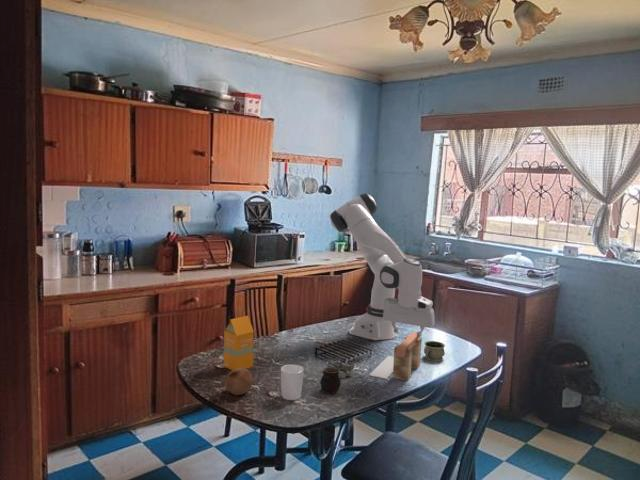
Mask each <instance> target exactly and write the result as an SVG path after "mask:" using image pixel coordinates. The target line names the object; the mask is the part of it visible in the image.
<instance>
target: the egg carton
mask: <svg viewBox="0 0 640 480" xmlns="http://www.w3.org/2000/svg"><path fill="white" fill-rule="evenodd" d="M326 364H327V367H333V368H338V367H339V366H340V365H341V364H342V366H341V367H340V368H339V369H338V370H339V374H338V376H339V379H340V378H341V379H346V377H352V376H353V371H354V370H353V369H355V367H356V366H354V365H352V364H347V363H344V362H341V361H340V360H338V361H336V360H332V361H326Z"/></svg>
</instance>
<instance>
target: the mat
mask: <svg viewBox="0 0 640 480" xmlns="http://www.w3.org/2000/svg"><path fill="white" fill-rule="evenodd" d="M393 364H394V356H392V355H391V356H390V355H388V356H387V357H386V358H385V359H384V360H383V361H381V363H379V364H378V366H377V367H376V368H375V369H374V370H372V371H371V372H370V374H369V377H373V378H377V379H382V380H386V381H387V380H388V379H389V377H391V376H392V375H393Z"/></svg>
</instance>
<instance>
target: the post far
mask: <svg viewBox="0 0 640 480" xmlns="http://www.w3.org/2000/svg"><path fill="white" fill-rule="evenodd" d="M409 335H410V334H409ZM409 335H408V334H407V335H406V336H405V337H404V340H405V339H406V338H407V337H408V336H409ZM422 339H423V337H422V336H421V337H419V338H418V340H417V343H416V344H415V345H414V346H413V349H412V364H411V369H416V370H417V369H419V367H421V355H422V352H421V351H422Z"/></svg>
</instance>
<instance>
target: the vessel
mask: <svg viewBox="0 0 640 480" xmlns="http://www.w3.org/2000/svg"><path fill="white" fill-rule="evenodd" d="M424 345H425V347H424V349H423V353H424V354H425V356H424V358H425V359H426V360H428V361H432V362H442V361H443V358H444V356H445V354H446V353H445V347H446V345H445V344H444V343H443V342H440V341H436V340H429V341H425V342H424Z"/></svg>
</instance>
